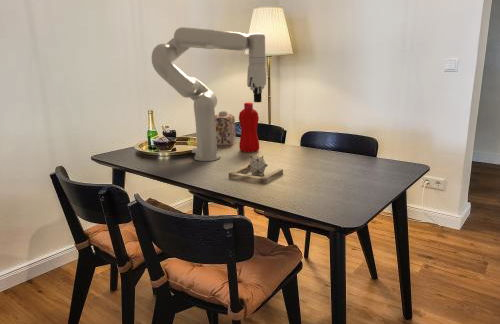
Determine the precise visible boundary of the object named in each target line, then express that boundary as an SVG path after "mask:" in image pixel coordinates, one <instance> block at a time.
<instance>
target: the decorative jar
mask: <svg viewBox="0 0 500 324" xmlns="http://www.w3.org/2000/svg"><path fill="white" fill-rule="evenodd" d="M235 119H236V118H235V115H234V114H231V113H230V114H229V113H228V111H225V110H224V111H223V110H221V111H219V112H218V114H215V122H216V142H217V146H234V144H235V143H236V120H235Z"/></svg>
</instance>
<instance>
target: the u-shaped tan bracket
mask: <svg viewBox="0 0 500 324" xmlns="http://www.w3.org/2000/svg"><path fill="white" fill-rule="evenodd" d="M249 164H250V163H248V164H246V165H244V166H241V167H239V168H238V169H237V168H236V169H235V170H232V171H231V172H229V173H228V179H234V180H238V181H245V182H250V183H255V184H256V183H257V184H261V185H266V184H268V183H270V182H271V181H273V180H274V179H276V178H279V177H280V176H282V175H283V174H284V169H283V168H277V169H275V170H273V171H272V172H270V173H268V174H266V175H264V176H263V177H262V176H257V175H253V176H252V174H246V173H248V172H249V171H250V172H251V170H250V168H249V167H247V166H248V165H249Z"/></svg>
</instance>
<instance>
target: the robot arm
mask: <svg viewBox="0 0 500 324" xmlns="http://www.w3.org/2000/svg"><path fill="white" fill-rule="evenodd" d="M190 48H194V49H204V50H215V49H217V50H229V51H239V52H241V51H247V50H248V67H247V79H246V85H247V87H248V88H249V89H250V91H252V93H253V102H254V103H262V93H263V90H264V89H265V86H266V85H267V72H266V35H265V34H264V33H260V32H259V33H258V32H257V33H256V32H254V33H250V34H249V33H247V34H246V33H242V32H237V31H234V32H233V31H225V30H224V31H223V30H221V31H220V30H215V29H209V28H198V27H197V28H196V27H179V28H177V29H175V31H174V33H173V37H172V39H170V40H169V41H168V42H166V43H159V44H157V45H156V46H155V47H154V48H153V49H152V52H151V63H152V64H151V65H152V67H153V68H154V71H155V72H156V74H157V75H159V77H160V78H162V79H163V80H164V81H165V82H166V83H167V84H168V85H170V87H172V89H174V90H175V92H177V93H179V95H180V96H182V97H183V98H185V99H186V98H190V99H191V100H192V101H193V111H194V120H195V121H194V122H195V133H196V134H195V135H196V136H195V137H196V147H193V148H192V150H191V153H193V154H194V160H195V161H198V162H213V161H217V160H219V159H221V154H219V153H218V145H217V142H216V122H215V115H216V113H215V112H216V111H215V108H216V106H217V104H218V98H217V96H216V94H215V93H214V92H213V91H212V90H210V88H209V87H208V86H206V85H205V84H204V83H203V82H202V81H200V80H199V79H198V78H196V77H194V76H190V75H189V76H188V75H187V74H186V73H184V71H182V70H181V69H180V68H179V67H178V66H177V65H175V64H174V63H173V62H174V61H176V60H177V59H179V57H181V56H182V55H183V54H184V53H185V52H187V51H188V50H189V49H190Z"/></svg>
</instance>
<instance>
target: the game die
mask: <svg viewBox="0 0 500 324" xmlns="http://www.w3.org/2000/svg"><path fill="white" fill-rule="evenodd" d="M248 164H249V165H248ZM248 164H247V165H248V166H247V167H249V168H250V172H251V175H252V176H256V175H262V176H263V177H264V176H265V174H264V173H265V170H266V168H267V167H268V164H266V162H265V159H264V155H262V157H261V156H260V157H257V156H256V157H253V156H252V155H250V161H249V163H248Z"/></svg>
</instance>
